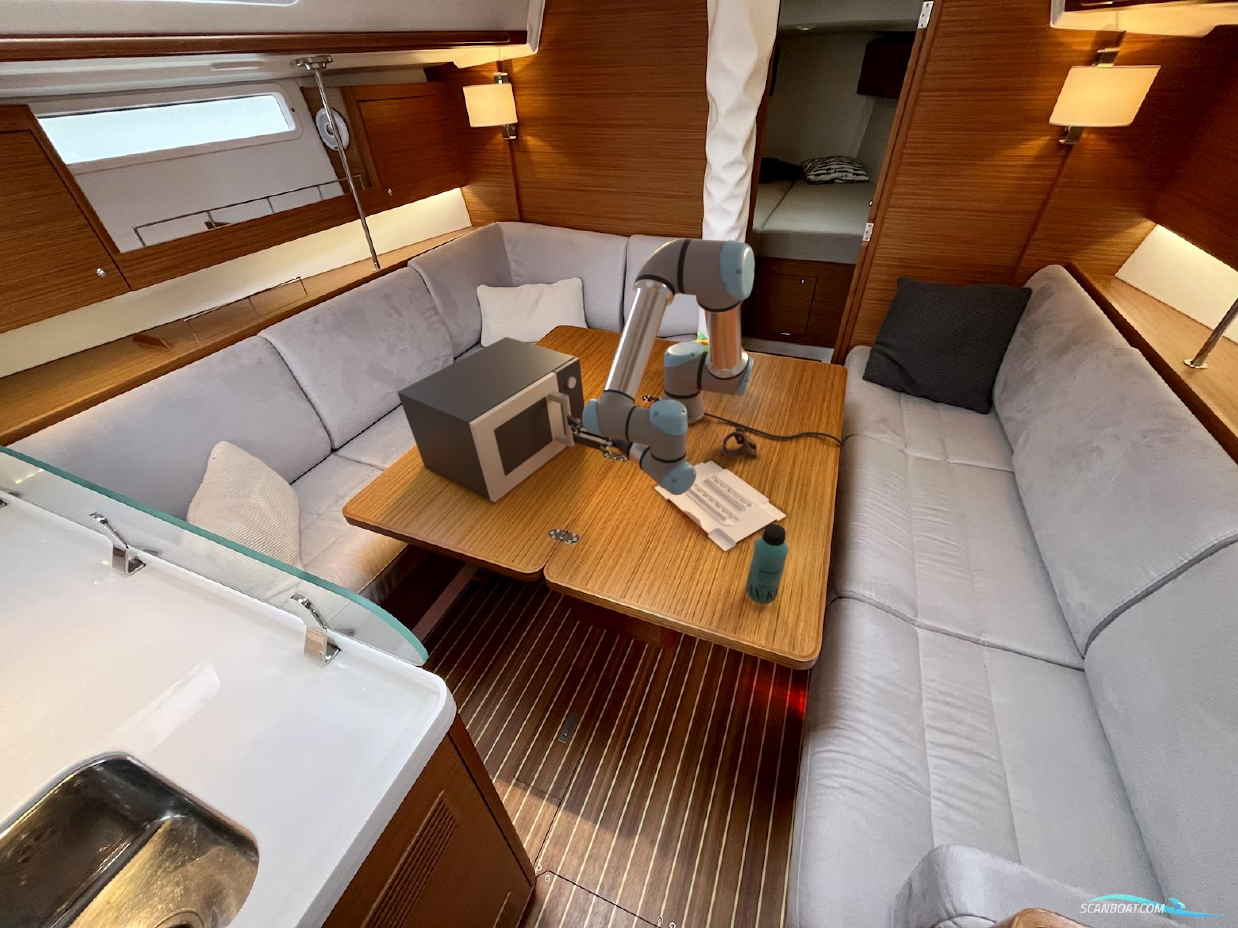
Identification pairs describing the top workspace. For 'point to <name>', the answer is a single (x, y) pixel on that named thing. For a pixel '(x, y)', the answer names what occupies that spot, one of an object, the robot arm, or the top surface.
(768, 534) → the beverage bottle
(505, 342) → the microwave
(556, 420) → the microwave door
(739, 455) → the brown looped piece
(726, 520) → the tray
